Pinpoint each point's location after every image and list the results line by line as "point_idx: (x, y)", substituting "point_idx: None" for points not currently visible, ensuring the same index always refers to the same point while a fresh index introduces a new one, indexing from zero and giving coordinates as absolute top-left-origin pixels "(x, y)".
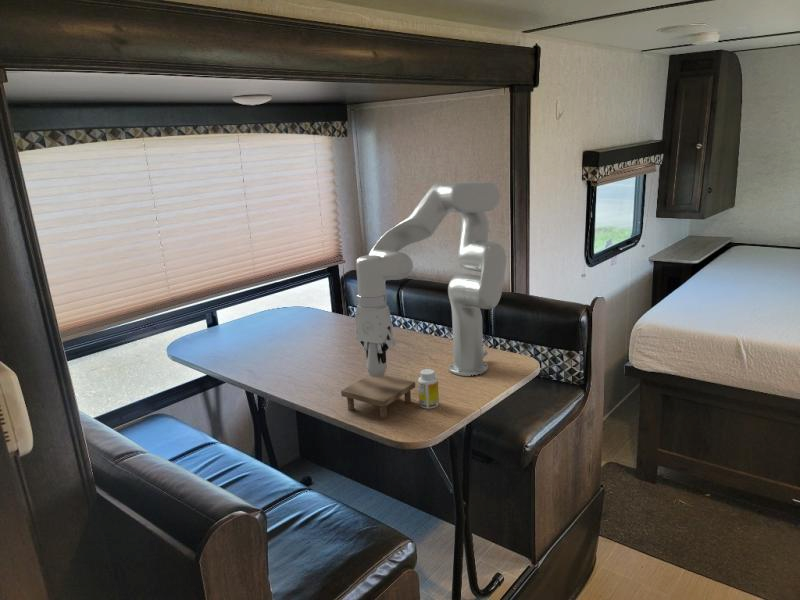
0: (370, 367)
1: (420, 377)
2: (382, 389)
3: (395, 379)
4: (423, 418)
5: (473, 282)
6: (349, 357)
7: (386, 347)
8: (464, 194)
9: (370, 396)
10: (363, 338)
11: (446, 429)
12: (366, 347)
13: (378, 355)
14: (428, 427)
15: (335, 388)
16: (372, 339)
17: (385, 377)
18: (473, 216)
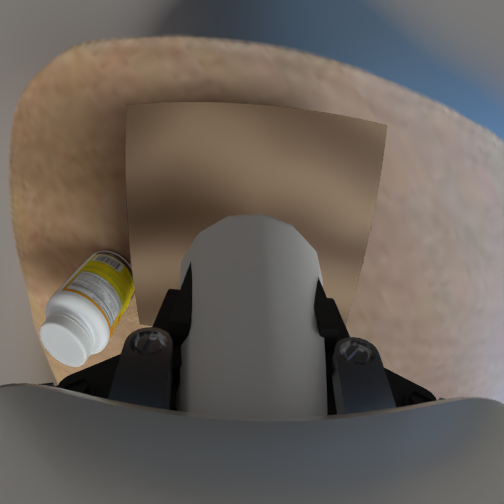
0: (255, 224)
1: (94, 327)
2: (208, 211)
3: None
4: (74, 194)
5: None
6: (448, 393)
7: (64, 381)
8: None
9: (214, 118)
10: (404, 448)
11: (10, 174)
12: (348, 365)
13: (173, 310)
14: (40, 157)
15: (443, 258)
16: (149, 467)
17: None
18: None
